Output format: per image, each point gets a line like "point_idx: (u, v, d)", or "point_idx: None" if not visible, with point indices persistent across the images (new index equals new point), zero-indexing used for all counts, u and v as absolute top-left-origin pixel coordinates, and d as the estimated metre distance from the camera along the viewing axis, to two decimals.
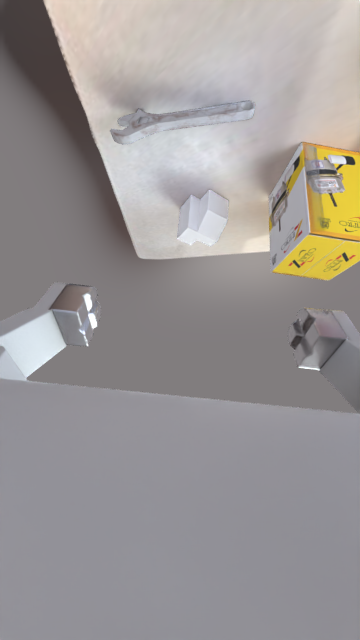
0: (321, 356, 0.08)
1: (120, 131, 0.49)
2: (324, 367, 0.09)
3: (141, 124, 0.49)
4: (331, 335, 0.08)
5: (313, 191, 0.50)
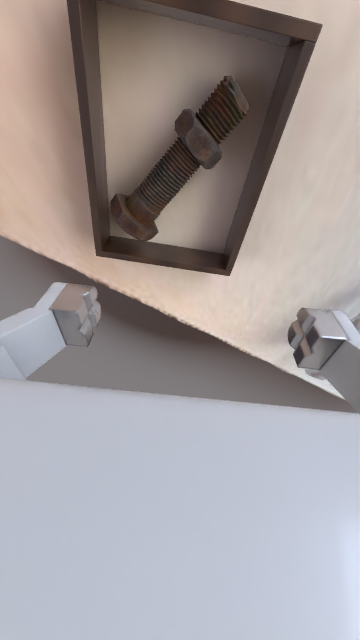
0: (321, 356, 0.08)
1: None
2: (323, 367, 0.09)
3: None
4: (331, 335, 0.08)
5: None
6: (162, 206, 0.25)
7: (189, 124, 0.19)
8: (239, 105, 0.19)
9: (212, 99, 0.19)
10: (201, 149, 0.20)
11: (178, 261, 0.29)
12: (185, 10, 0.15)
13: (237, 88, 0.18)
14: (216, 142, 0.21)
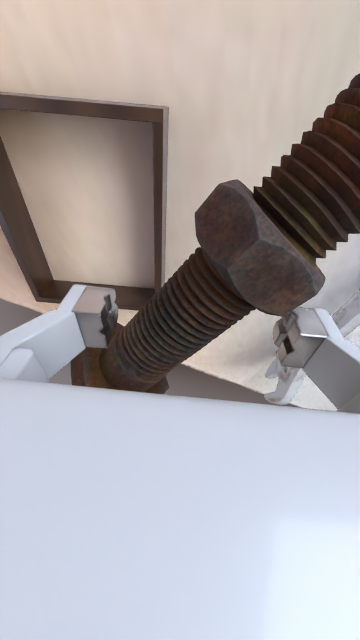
0: (304, 355, 0.08)
1: (274, 393, 0.38)
2: (307, 365, 0.09)
3: (289, 371, 0.37)
4: (312, 333, 0.08)
5: None
6: (173, 366, 0.11)
7: (240, 232, 0.06)
8: None
9: (316, 152, 0.06)
10: (276, 292, 0.07)
11: None
12: None
13: None
14: (315, 260, 0.07)
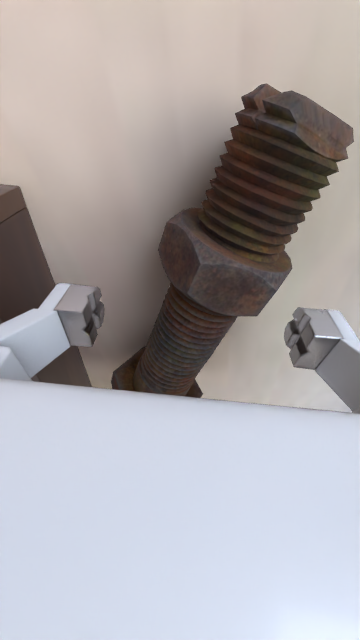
0: (317, 356, 0.08)
1: None
2: (319, 367, 0.09)
3: None
4: (326, 334, 0.08)
5: None
6: (193, 376, 0.13)
7: (188, 260, 0.07)
8: (323, 150, 0.06)
9: (228, 174, 0.06)
10: (238, 298, 0.07)
11: None
12: None
13: (303, 108, 0.05)
14: (272, 256, 0.08)
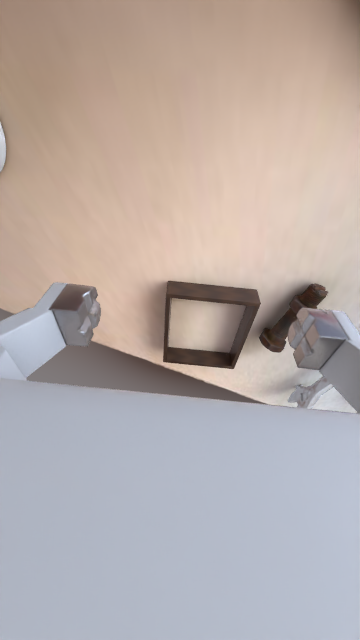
0: (321, 356, 0.08)
1: None
2: (324, 367, 0.09)
3: (305, 400, 0.60)
4: (331, 335, 0.08)
5: None
6: None
7: (300, 308, 0.41)
8: (323, 295, 0.40)
9: (308, 296, 0.41)
10: None
11: (205, 363, 0.54)
12: (208, 301, 0.41)
13: (321, 291, 0.39)
14: (314, 307, 0.42)
